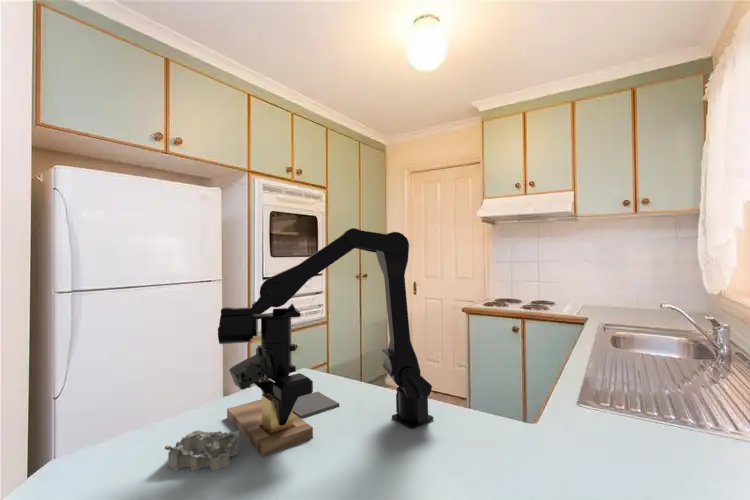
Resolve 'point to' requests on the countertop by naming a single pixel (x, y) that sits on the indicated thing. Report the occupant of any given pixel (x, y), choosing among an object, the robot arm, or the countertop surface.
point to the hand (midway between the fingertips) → (277, 420)
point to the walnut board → (251, 428)
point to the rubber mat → (313, 404)
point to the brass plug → (273, 416)
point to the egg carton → (203, 450)
